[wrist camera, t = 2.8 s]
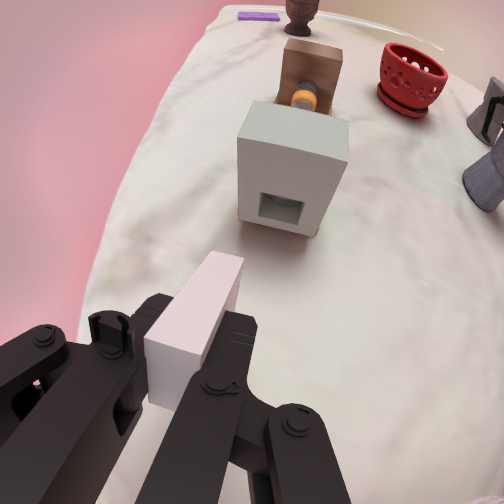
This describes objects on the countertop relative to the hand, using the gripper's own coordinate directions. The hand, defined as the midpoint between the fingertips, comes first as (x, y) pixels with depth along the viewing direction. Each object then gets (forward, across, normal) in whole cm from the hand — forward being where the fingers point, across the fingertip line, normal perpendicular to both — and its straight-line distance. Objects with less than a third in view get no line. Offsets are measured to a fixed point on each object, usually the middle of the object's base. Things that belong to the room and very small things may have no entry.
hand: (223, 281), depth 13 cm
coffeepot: (+47, +46, +26) cm, 71 cm away
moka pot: (+32, +36, +11) cm, 49 cm away
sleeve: (+19, +2, 0) cm, 19 cm away
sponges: (+72, -16, +50) cm, 89 cm away
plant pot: (+44, +21, +24) cm, 55 cm away
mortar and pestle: (+64, -1, +44) cm, 78 cm away
